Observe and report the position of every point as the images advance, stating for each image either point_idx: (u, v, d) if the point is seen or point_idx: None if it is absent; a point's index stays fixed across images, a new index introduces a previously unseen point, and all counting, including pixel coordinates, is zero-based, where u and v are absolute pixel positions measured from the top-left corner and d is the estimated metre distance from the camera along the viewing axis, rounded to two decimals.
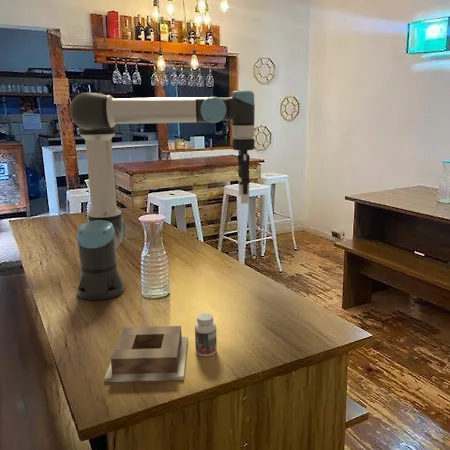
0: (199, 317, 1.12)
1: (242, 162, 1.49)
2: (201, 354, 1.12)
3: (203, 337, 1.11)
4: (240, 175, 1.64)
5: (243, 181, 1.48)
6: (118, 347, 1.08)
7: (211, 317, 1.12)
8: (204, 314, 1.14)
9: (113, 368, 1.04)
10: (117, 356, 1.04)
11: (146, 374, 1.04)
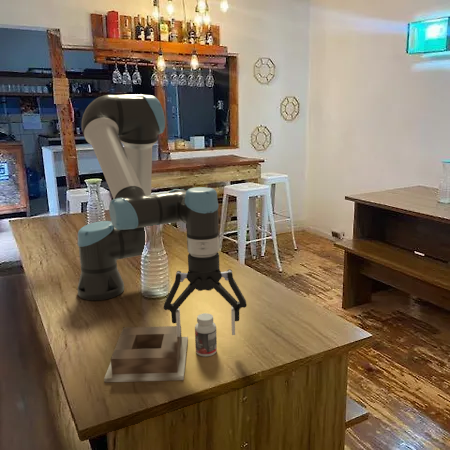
0: (199, 317, 1.12)
1: (175, 281, 1.10)
2: (201, 354, 1.12)
3: (203, 337, 1.11)
4: None
5: (164, 303, 1.12)
6: (118, 347, 1.08)
7: (211, 317, 1.12)
8: (204, 314, 1.14)
9: (113, 368, 1.04)
10: (117, 356, 1.04)
11: (146, 374, 1.04)
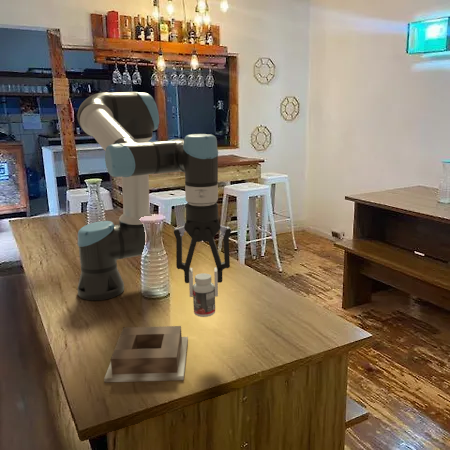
0: (197, 277, 1.09)
1: None
2: (199, 315, 1.10)
3: (201, 297, 1.08)
4: None
5: None
6: (118, 347, 1.08)
7: (209, 276, 1.09)
8: (202, 274, 1.11)
9: (113, 368, 1.04)
10: (117, 356, 1.04)
11: (146, 374, 1.04)
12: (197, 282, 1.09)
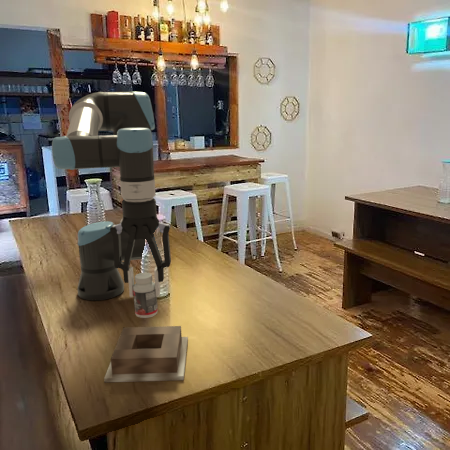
0: (137, 276, 1.05)
1: None
2: (140, 316, 1.06)
3: (141, 297, 1.04)
4: None
5: None
6: (118, 347, 1.08)
7: (149, 276, 1.05)
8: (143, 273, 1.07)
9: (113, 368, 1.04)
10: (117, 356, 1.04)
11: (146, 374, 1.04)
12: (136, 281, 1.05)
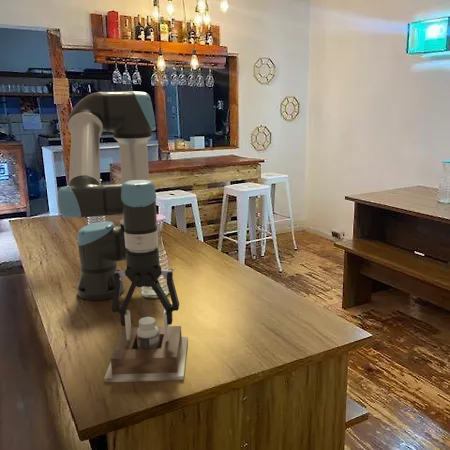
0: (141, 321, 1.08)
1: None
2: None
3: (144, 342, 1.07)
4: None
5: None
6: (118, 347, 1.08)
7: (153, 321, 1.08)
8: (146, 318, 1.10)
9: (113, 368, 1.04)
10: (117, 356, 1.04)
11: (146, 374, 1.04)
12: (140, 327, 1.08)
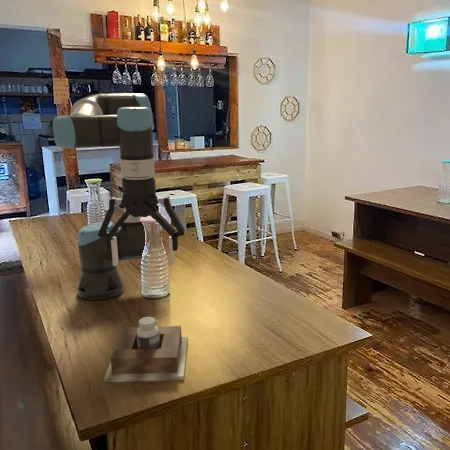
0: (141, 321, 1.08)
1: None
2: None
3: (144, 342, 1.07)
4: None
5: None
6: (118, 347, 1.08)
7: (153, 321, 1.08)
8: (146, 318, 1.10)
9: (113, 368, 1.04)
10: (117, 356, 1.04)
11: (146, 374, 1.04)
12: (140, 327, 1.08)
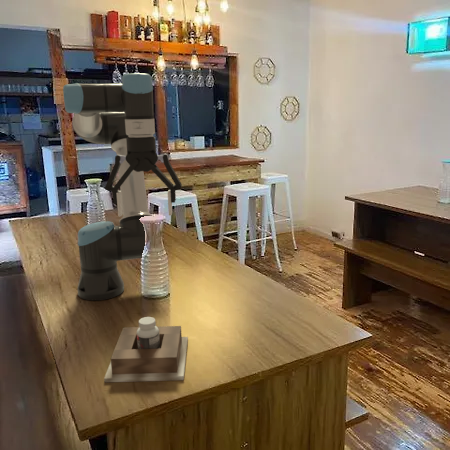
0: (141, 321, 1.08)
1: None
2: None
3: (144, 342, 1.07)
4: None
5: None
6: (118, 347, 1.08)
7: (153, 321, 1.08)
8: (146, 318, 1.10)
9: (113, 368, 1.04)
10: (117, 356, 1.04)
11: (146, 374, 1.04)
12: (140, 327, 1.08)
